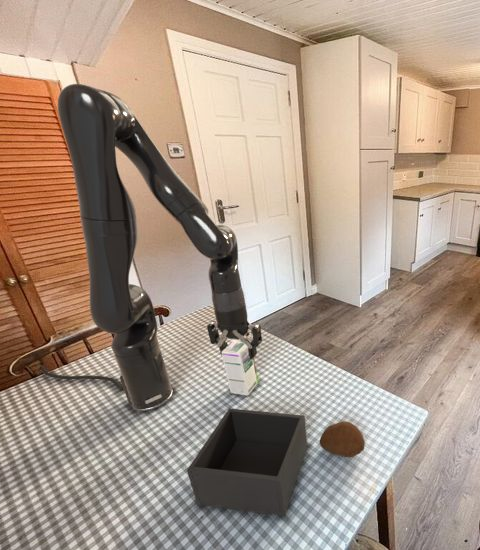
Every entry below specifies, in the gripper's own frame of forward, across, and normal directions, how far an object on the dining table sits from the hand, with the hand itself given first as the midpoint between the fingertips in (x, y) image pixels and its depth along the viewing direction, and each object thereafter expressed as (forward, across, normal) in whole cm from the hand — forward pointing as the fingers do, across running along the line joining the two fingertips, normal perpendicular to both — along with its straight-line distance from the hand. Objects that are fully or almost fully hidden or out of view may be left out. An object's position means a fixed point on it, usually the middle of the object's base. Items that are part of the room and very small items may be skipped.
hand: (239, 356), depth 84 cm
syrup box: (+11, 0, 0) cm, 11 cm away
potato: (+11, -32, +16) cm, 37 cm away
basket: (+11, -15, +24) cm, 30 cm away
